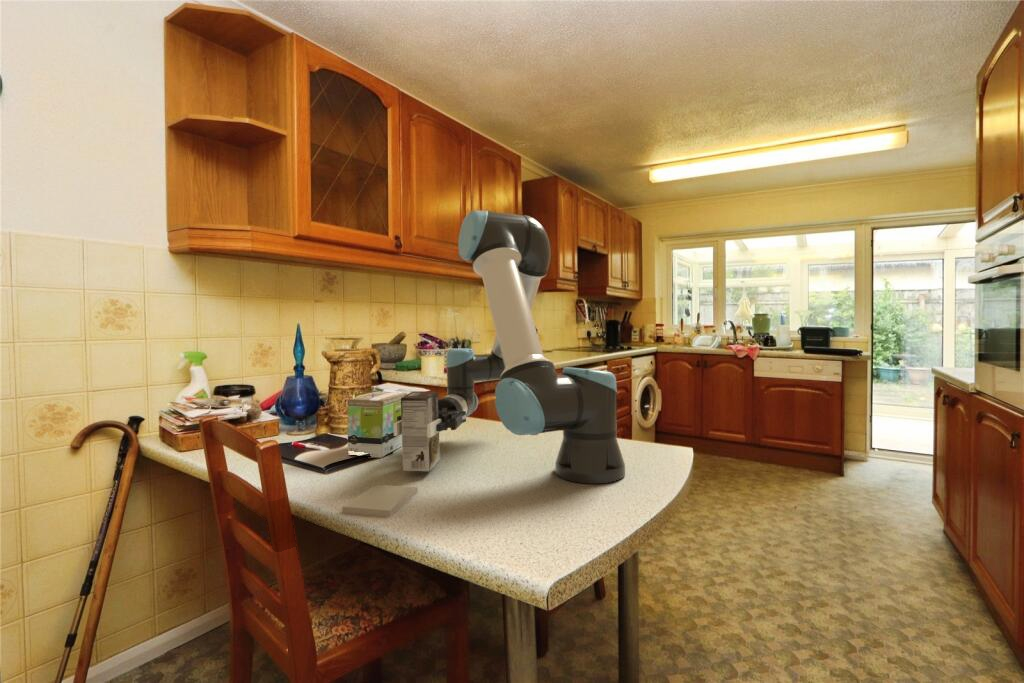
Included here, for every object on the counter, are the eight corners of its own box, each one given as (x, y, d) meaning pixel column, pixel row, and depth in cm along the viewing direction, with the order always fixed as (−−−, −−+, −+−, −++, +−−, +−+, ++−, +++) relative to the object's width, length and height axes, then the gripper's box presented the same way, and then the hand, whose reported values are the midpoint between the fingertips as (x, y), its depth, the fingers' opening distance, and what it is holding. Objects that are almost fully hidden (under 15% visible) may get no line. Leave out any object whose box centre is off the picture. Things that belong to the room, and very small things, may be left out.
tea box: (383, 458, 121) (382, 399, 120) (346, 456, 123) (345, 398, 122) (408, 443, 135) (407, 391, 135) (375, 442, 137) (374, 390, 137)
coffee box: (413, 459, 114) (412, 391, 114) (440, 459, 114) (439, 391, 113) (401, 471, 105) (399, 397, 104) (430, 471, 105) (428, 397, 104)
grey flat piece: (417, 487, 96) (389, 510, 84) (417, 495, 96) (389, 519, 84) (375, 484, 98) (342, 506, 86) (375, 492, 98) (342, 515, 86)
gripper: (485, 426, 125) (456, 450, 102) (413, 423, 129) (369, 445, 106) (485, 397, 124) (455, 414, 102) (412, 395, 129) (369, 411, 106)
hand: (412, 430), depth 104 cm, fingers closed on coffee box, 7 cm apart
